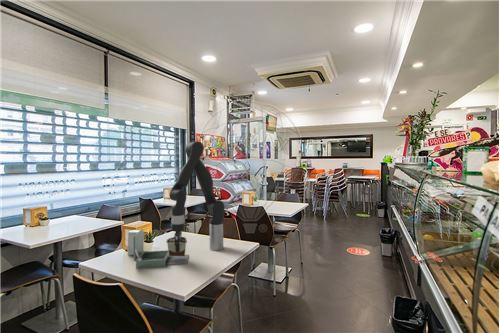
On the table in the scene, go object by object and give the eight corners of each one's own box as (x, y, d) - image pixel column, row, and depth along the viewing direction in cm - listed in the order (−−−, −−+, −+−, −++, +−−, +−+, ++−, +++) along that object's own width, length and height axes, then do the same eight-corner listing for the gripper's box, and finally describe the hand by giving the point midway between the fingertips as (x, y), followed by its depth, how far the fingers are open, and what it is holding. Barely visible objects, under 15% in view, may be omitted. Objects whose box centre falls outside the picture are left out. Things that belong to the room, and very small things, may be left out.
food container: (190, 252, 162) (189, 236, 161) (186, 256, 156) (186, 239, 155) (170, 251, 163) (170, 236, 162) (166, 256, 156) (166, 239, 156)
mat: (188, 255, 166) (188, 254, 166) (186, 264, 152) (186, 263, 152) (170, 256, 164) (170, 255, 164) (167, 265, 150) (167, 264, 150)
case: (170, 256, 164) (169, 228, 164) (165, 266, 148) (165, 235, 148) (141, 258, 162) (141, 229, 162) (133, 268, 146) (133, 236, 146)
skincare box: (127, 255, 167) (127, 232, 167) (131, 252, 173) (131, 229, 173) (140, 255, 167) (140, 232, 167) (144, 252, 173) (143, 229, 173)
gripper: (183, 225, 151) (183, 254, 152) (185, 219, 166) (185, 246, 166) (169, 225, 150) (169, 254, 150) (173, 220, 165) (173, 246, 165)
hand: (178, 250), depth 158 cm, fingers closed on food container, 5 cm apart
